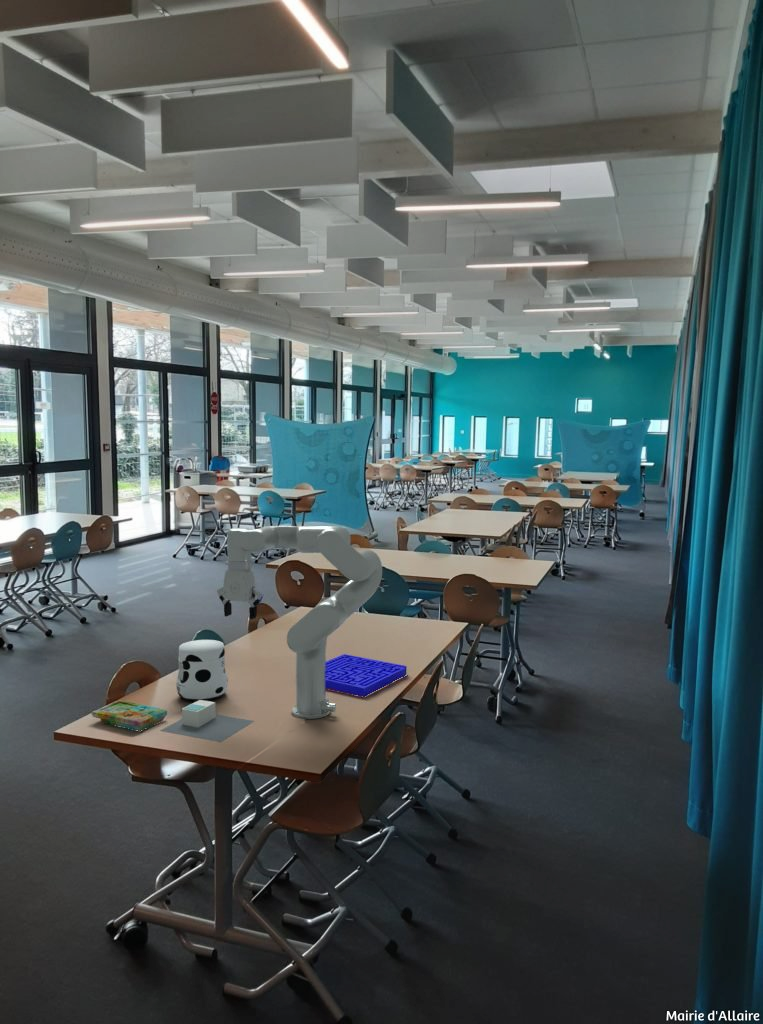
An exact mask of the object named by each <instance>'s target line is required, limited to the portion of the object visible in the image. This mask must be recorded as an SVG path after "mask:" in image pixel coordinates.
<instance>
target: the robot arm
mask: <svg viewBox="0 0 763 1024" xmlns="http://www.w3.org/2000/svg"><path fill="white" fill-rule="evenodd" d="M351 538H352V537H351V534H350V532H349V530H348V529H346V528H345V527H342V526H339V525H338V526H337V525H336V526H333V525H331V526H330V525H327V526H325V525H324V526H323V525H322V526H319V525H318V526H317V525H316V526H315V525H314V526H303V525H302V526H299V525H298V526H295V525H294V526H293V525H291V526H290V525H270V526H269V525H267V526H263V527H259V528H256V529H249V528H247V527H233V528H230V529H228V531H227V560H226V561H225V566H227V569H225V572H224V578H223V587H221V588H219V589H217V591H216V592H217V594H218V597H219V600H220V601H221V603H222V605H223V612H224V617H230V616H232V611H233V610H232V607H233V606H232V603H231V602H248V604H249V606H250V607H249V609H248V610H249V612H248V613H249V620H253V619H256V618H257V615H258V606H259V604H260V603H261V602H262V600H263V598H264V595H265V594H264V593H263V592H262V591H260V590H259V589H257V588H256V587H257V586H256V580H255V572H254V570H253V569H252V553H263V552H266V551H268V550H271V549H294V550H297V551H298V553H301V554H310V553H311V554H314V553H315V554H321V555H322V556H323V557H324V558H325V559H326V560H327V562H329V563H330V564H331V565H332V566H333V567H335V569H337V570H338V571H339V572H340V573H341V574H342V575H344V577H345V578H347V579H348V580H349V581H347V582H346V583H345V584H343V586H342V587H341V588H340V589H339V590H337V591H336V592H335V593H333V595H331V596H330V597H328V598H326V599H324V600H322V601H321V602H320V603H318V604H316V606H314V607H313V608H312V609H311V610H309V611H308V612H307V613H306V614H305V615H304V616H302V617H301V619H299V620H298V621H297V622H295V623H294V624H293V625H292V626H291V627H290V628H289V630H288V631H287V634H286V644H287V646H288V648H289V649H290V651H292V652H294V653H296V655H295V656H296V657H295V679H296V680H295V683H296V684H295V689H296V690H295V692H296V693H295V695H296V696H295V699H296V702H295V706H293V707H292V708H291V714H292V716H294V717H295V718H299V719H305V720H313V719H315V720H316V719H321V718H324V717H327V716H328V715H330V713H331V712H332V713H335V712H336V710H337V707H336V706H337V704H336V703H331V702H329V697H326V695H327V694H326V690H327V689H326V671H325V666H326V661H327V660H326V656H327V655H326V653H327V642H328V637H329V636H330V635H332V634H333V633H334V632H335V631H336V630H337V629H339V628H340V627H341V626H342V625H343V624H345V622H346V621H347V619H349V618H350V617H351V616H352V615H353V614H354V613H355V612H356V611H357V610H358V609H360V608H361V607H362V606H363V605H364V604H366V602H367V601H369V600H370V599H371V598H372V596H373V595H374V594H375V592H377V590H378V588H379V587H380V583H381V582H382V581H381V580H382V577H383V564H382V562H381V559H380V557H379V556H378V554H377V553H376V552H375V551H373V550H370V549H362V550H359V551H358V550H357V549H355V547H353V546H352V545H351V540H352V539H351ZM256 596H257V597H256Z"/></svg>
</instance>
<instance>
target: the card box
mask: <svg viewBox="0 0 763 1024" xmlns="http://www.w3.org/2000/svg"><path fill="white" fill-rule="evenodd" d="M216 712H217V711H216V702H214V701H210V700H205V701H204V700H198V701H194V702H193V703H190V704H188V705H187V706H184V707H182V708H181V719H182V725H187V726H192V727H200V726H202V725H203V724H205V723H207V722H209V721H211V720H212V719H214V718H216V714H217V713H216Z"/></svg>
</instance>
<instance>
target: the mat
mask: <svg viewBox="0 0 763 1024" xmlns="http://www.w3.org/2000/svg"><path fill="white" fill-rule="evenodd" d="M254 722H255V720H252V719H251V720H250V719H245V718H240V717H233V716H227V715H223V714H217V713H216V718H214V719H212V720H211V721H209V722H207V723H205V724H203V725H202V726H200V727H192V726H187V725H182V718H180V719H179V720H177V721H175V722H173V723H172V724H170V725H168V726H166V727H164V728H162V729H160V731H161V732H165V733H171V734H174V735H175V734H176V735H181V736H187V737H191V738H196V739H201V740H207V741H212V742H219V743H222V742H224V741H226V740H227V739H229V738H230V737H231V736H232V737H233V735H234V734H236V733H238V732H239V731H241V730H243V729H245V728H246V727H248V726H249V725H251V724H252V723H254Z"/></svg>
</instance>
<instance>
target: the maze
mask: <svg viewBox="0 0 763 1024" xmlns="http://www.w3.org/2000/svg"><path fill="white" fill-rule="evenodd" d="M325 671H326V690H327V689H330V690H329V691H331V690H334V691H333V692H335V691H339V692H338V693H340V692H343V693H342V694H344V693H349V694H353V695H358V696H363V697H365V696H367V695H368V694H370V693H372V692H374V691H376V690H378V689H380V688H382V687H384V686H386V685H388V684H390V683H392V682H393V681H395V680H397V679H399V678H401V677H404V676H405V675H406V674H407V665H404V664H398V663H392V662H388V661H382V660H377V659H371V658H366V657H361V656H356V655H351V654H347V653H344V654H341V655H339V656H336V657H334V658H331V659H329V660H326V666H325ZM349 694H348V695H349ZM353 695H352V696H353ZM367 697H368V696H367ZM365 698H366V697H365Z"/></svg>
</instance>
